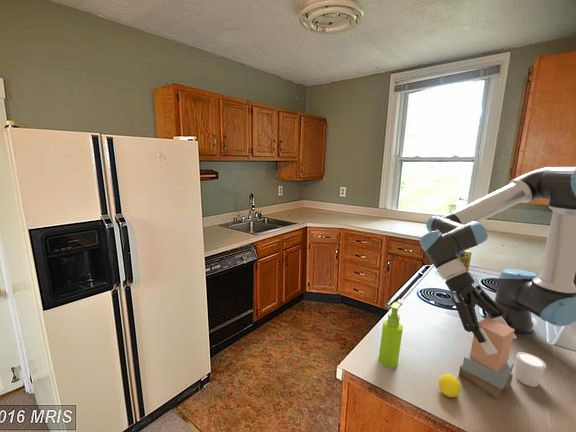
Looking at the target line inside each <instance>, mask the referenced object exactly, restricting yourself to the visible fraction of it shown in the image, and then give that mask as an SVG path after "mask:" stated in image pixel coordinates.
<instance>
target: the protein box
mask: <svg viewBox="0 0 576 432" xmlns="http://www.w3.org/2000/svg"><path fill="white" fill-rule="evenodd" d="M456 255H457V256H458V258H459V260H460V261H461V262H462V264H463V265H464V266H465V268H466V270H465V271H466V272H469V270H470V269H469V268H470V265H471V260H472V259H471V258H472V251H471V250H470V249H467V250H465V251H462V252H460V253H457V254H456Z"/></svg>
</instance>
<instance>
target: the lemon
mask: <svg viewBox="0 0 576 432" xmlns="http://www.w3.org/2000/svg"><path fill="white" fill-rule="evenodd" d="M461 387H462V386H461V383H460V380H459V379H458V378H457V377H456V376H454V375H453V374H449V373H445V374H442V375H441V376H440V377H439V380H438V388H439V390H440V392H441V393H442V394H443V395H444V396H446V397H448V398H456V397H458V396H459V395H460V393H461Z"/></svg>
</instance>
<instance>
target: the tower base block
mask: <svg viewBox="0 0 576 432" xmlns="http://www.w3.org/2000/svg"><path fill="white" fill-rule="evenodd" d="M462 366H463V363H462V364H461V365H460V366H459V372H458V377H460V378H461V379H462V380H463V381H465V382H467V383H469V384H470V385H472V386H473V387H475V388H476V389H478V390H480V391H482V393H484V394H486V395H487V396H489V397H491V398H493V399H494V400H495V401H496V400H497V399H498V398H499V397H500V396H501V395H502V394H503V393H505V392H506V391H507V389H508V388H510V387H511V385H512V381H513V378H514V377H513V376H514V375H513V374H512V373H511V375H510V377H509V378H508V380H507V382H506V384H505V386H504V388H503V389H502V390H501V389H500V388H498V387H496V386H494V385H492V384H490V383H488V382H486V381H485V380H483V379H481V378H479V377H477V376H475V375H473V374H471V373H470V372H468V371H466V370H464V369H462Z"/></svg>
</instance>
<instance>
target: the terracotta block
mask: <svg viewBox="0 0 576 432" xmlns="http://www.w3.org/2000/svg"><path fill="white" fill-rule="evenodd" d="M478 324H479V328H482V329H483V330H484V332H485V333H486V335H487V336H488V338H489V339H490V341H491V342H492V344H493V345H494V347H495V348H496V350H497V351H498V353H495V354H490V355H487V354H486V352H485V351H484V349H483V347H482V346H481V344H480V343H479V342H478V340H477V338H476V337H475V335H474V334H473V337H472V342H471V348H470V349H471V352H470V357H471V358H473V359H475V360H477V361H478V362H480V363H482V364H484V365H485V366H487V367H489V368H491V369H492V370H494V371H496V372H497V371H498V370H499V369H500V368H502V367H503V366H504V365H505V364H506V363H507V361H508V359H509V356H510V352H511V348H512V345H513V340H514V339H513V335H515V333H514V331H515V329H513V328H511V327H508V326H506V325H504V324H501V323H499V322H497V321H495V320H492V319H490V318H488V317H485V318H483V319H482V320H480V321H479V322H478Z"/></svg>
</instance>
